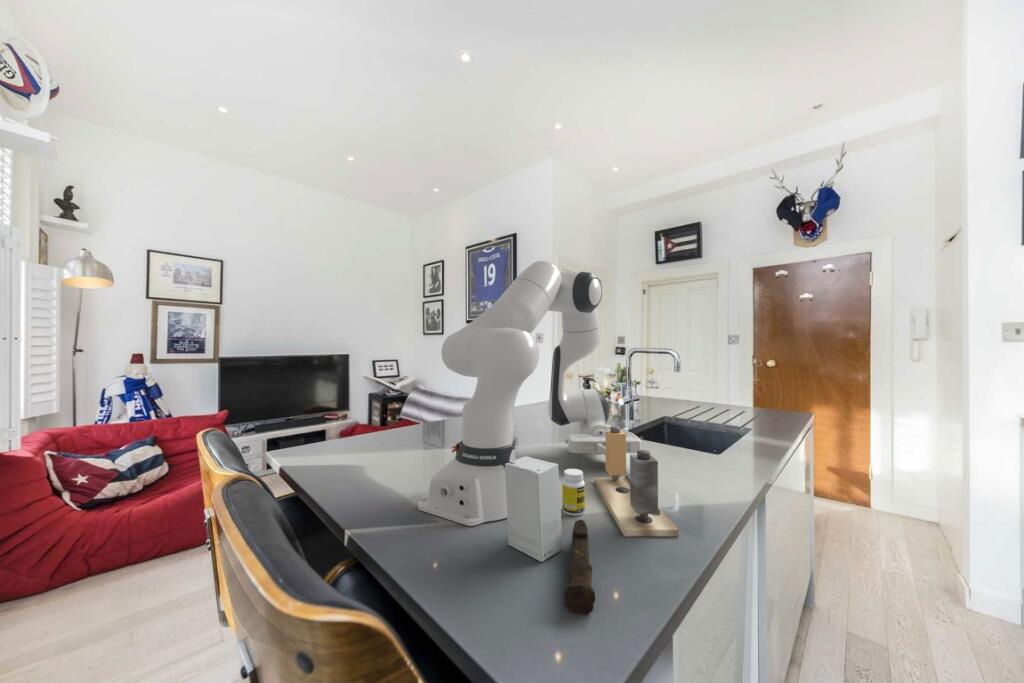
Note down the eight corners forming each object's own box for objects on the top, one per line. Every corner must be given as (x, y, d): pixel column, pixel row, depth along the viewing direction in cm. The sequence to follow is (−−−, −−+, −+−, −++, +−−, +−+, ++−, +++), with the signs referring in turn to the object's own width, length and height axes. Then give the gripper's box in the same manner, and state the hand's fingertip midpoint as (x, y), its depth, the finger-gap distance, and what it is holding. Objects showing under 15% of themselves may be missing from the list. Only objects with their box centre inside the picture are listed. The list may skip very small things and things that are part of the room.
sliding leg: (609, 482, 90) (609, 429, 90) (605, 476, 94) (605, 425, 94) (626, 482, 90) (625, 429, 90) (621, 476, 94) (621, 425, 94)
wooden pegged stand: (624, 536, 68) (624, 458, 68) (593, 482, 94) (593, 425, 94) (678, 536, 68) (678, 458, 68) (633, 482, 94) (632, 425, 94)
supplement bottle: (579, 518, 75) (579, 477, 75) (558, 513, 78) (558, 473, 78) (588, 509, 79) (588, 470, 79) (567, 504, 82) (567, 466, 82)
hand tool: (595, 619, 48) (595, 583, 48) (564, 614, 49) (564, 579, 49) (596, 542, 67) (596, 516, 67) (573, 539, 68) (573, 514, 68)
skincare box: (563, 550, 64) (562, 464, 64) (540, 565, 60) (539, 473, 60) (527, 532, 70) (527, 453, 70) (504, 544, 66) (504, 461, 66)
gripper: (563, 427, 111) (570, 440, 97) (631, 427, 110) (648, 440, 97) (563, 448, 111) (570, 464, 97) (631, 448, 110) (648, 464, 97)
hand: (610, 452), depth 97 cm, fingers closed
